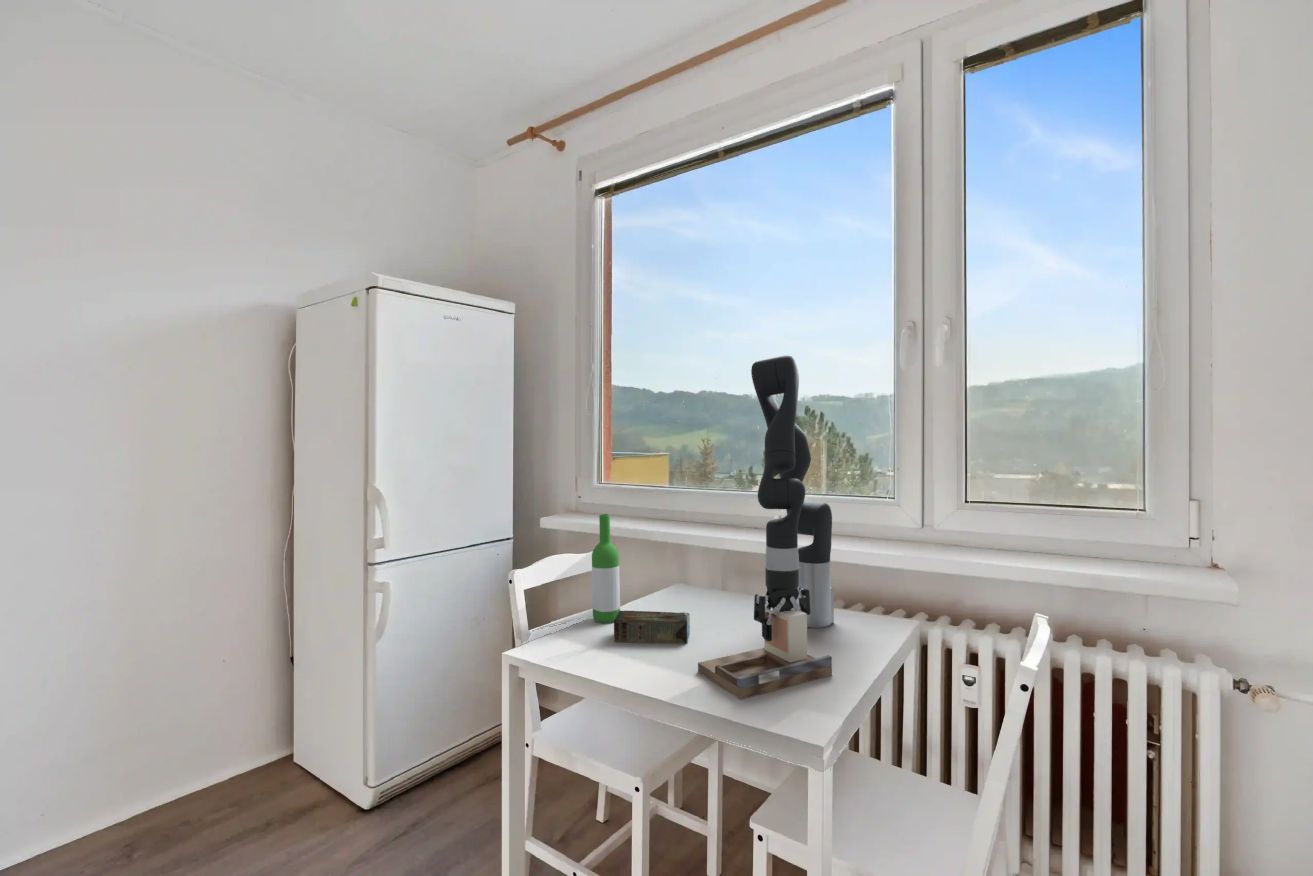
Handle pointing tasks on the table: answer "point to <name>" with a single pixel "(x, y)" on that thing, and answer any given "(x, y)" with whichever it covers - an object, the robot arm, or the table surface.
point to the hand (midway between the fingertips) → (782, 637)
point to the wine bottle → (605, 576)
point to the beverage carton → (652, 627)
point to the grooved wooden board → (762, 672)
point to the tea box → (788, 635)
